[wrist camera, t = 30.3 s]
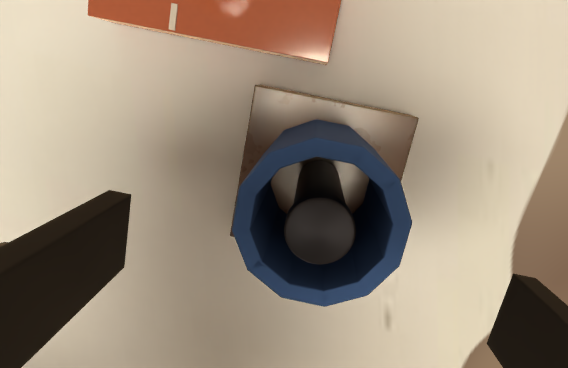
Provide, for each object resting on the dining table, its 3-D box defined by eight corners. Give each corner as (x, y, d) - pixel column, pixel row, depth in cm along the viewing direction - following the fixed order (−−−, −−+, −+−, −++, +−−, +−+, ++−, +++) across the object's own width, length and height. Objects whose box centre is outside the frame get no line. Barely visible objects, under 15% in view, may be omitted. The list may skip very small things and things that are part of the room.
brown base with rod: (235, 225, 28) (187, 310, 18) (259, 84, 26) (219, 86, 15) (372, 254, 28) (405, 358, 17) (411, 115, 25) (477, 138, 15)
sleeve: (250, 224, 26) (222, 285, 18) (271, 110, 24) (249, 123, 16) (363, 248, 26) (383, 320, 18) (394, 134, 24) (431, 160, 16)
